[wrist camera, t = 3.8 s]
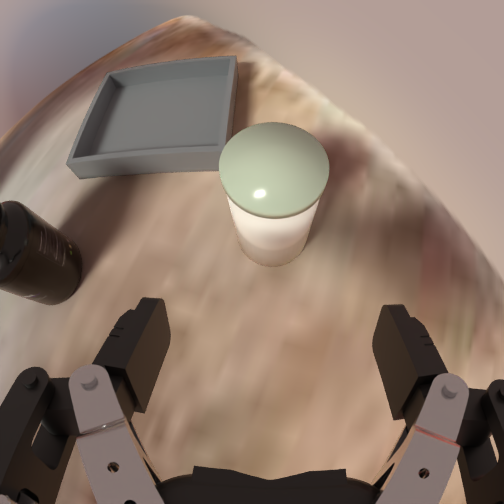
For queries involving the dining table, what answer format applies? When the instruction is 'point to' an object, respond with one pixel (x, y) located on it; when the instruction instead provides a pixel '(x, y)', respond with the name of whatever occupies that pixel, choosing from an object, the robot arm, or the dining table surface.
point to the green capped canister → (273, 189)
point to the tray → (158, 119)
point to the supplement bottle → (36, 257)
